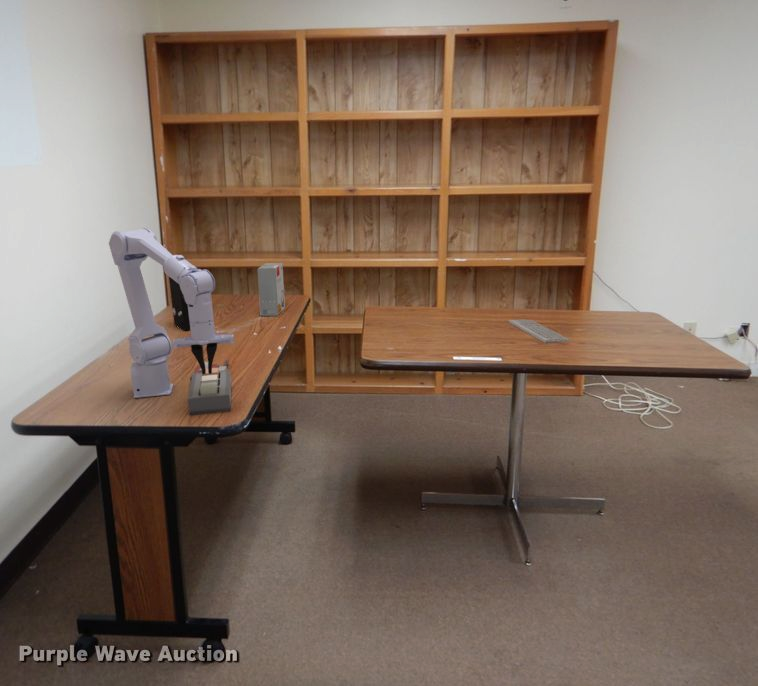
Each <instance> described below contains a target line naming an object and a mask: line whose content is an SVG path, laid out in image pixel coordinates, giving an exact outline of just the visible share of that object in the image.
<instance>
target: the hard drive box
mask: <svg viewBox="0 0 758 686" xmlns="http://www.w3.org/2000/svg"><path fill="white" fill-rule="evenodd" d="M283 266H284V264H283V262H266V263H264V264H262V265H261V266H260V267H258V268H257V282H258V298H259V299H258V302H259V315H260V317H263V316H264V317H266V316H267V317H276V316H277V317H278V316H279V315H280V314H281V313H282V312H283V311H284V310H285V309H286V298H285V285H284V282H285V281H284V269H283V268H284V267H283Z"/></svg>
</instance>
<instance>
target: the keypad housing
mask: <svg viewBox="0 0 758 686" xmlns="http://www.w3.org/2000/svg"><path fill="white" fill-rule="evenodd" d="M192 374H193V375H192ZM192 374H191V376H192V380H191V381H190V385H189V389H188V396H187V405H188V413H189V416H196V415H205V414H206V415H207V414H216V412H218V413H225V412H226V411H227V412H231V411H232V381H231V380H232V379H231V369H227V370H223V371H219V378H218V383H219V386H217V387H218V394H211V395H201V393H200V386H201V379H202V376H203V375H202V372H201V373H194V372H192Z"/></svg>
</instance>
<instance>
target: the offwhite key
mask: <svg viewBox="0 0 758 686" xmlns="http://www.w3.org/2000/svg"><path fill="white" fill-rule="evenodd" d="M212 382H217V386H219V384H218V375H208V376H202V379H201V383H212Z"/></svg>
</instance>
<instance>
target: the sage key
mask: <svg viewBox="0 0 758 686" xmlns="http://www.w3.org/2000/svg"><path fill="white" fill-rule="evenodd" d="M200 393H201V395H211V394H218V387H217V382H212V383H201V386H200Z"/></svg>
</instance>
